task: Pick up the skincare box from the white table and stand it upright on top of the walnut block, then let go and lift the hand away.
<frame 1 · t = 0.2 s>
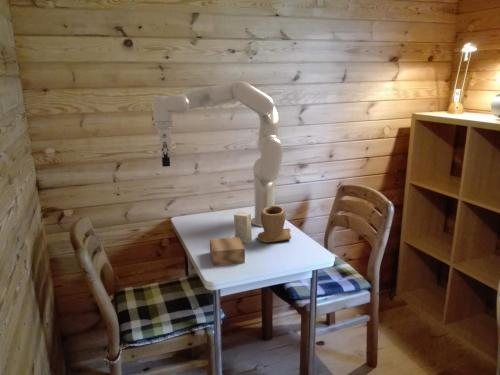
hand: (166, 164, 179), 31 cm above the table, fingers open, 9 cm apart
skincare box: (243, 241, 174), on the table
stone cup: (275, 240, 174), on the table
walnut block: (227, 258, 158), on the table
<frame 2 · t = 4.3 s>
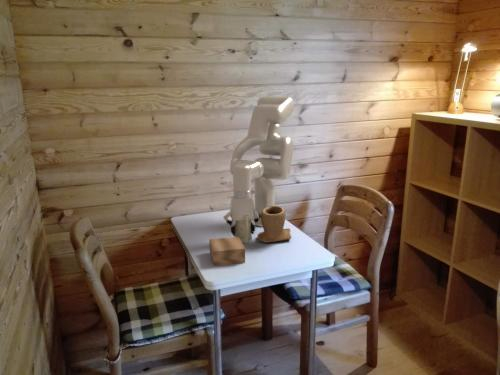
hand: (242, 233, 173), 3 cm above the table, fingers closed on skincare box, 7 cm apart
skincare box: (243, 241, 174), on the table, touching gripper
everything else where it was.
when the fingers open (11 cm above the table, at t = 10.6 s): skincare box drops 2 cm, resting on walnut block.
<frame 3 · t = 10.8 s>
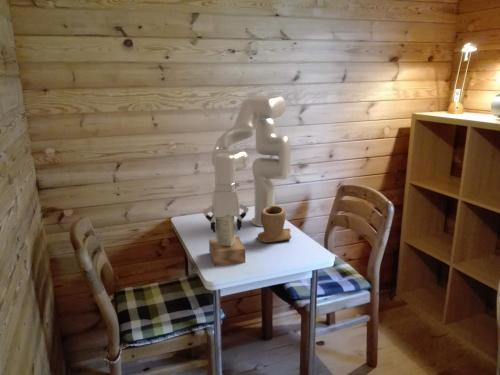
hand: (226, 230, 155), 11 cm above the table, fingers open, 9 cm apart
skincare box: (226, 244, 157), point 5 cm above the table, touching walnut block
walnut block: (227, 258, 158), on the table, touching skincare box
everything else where it was.
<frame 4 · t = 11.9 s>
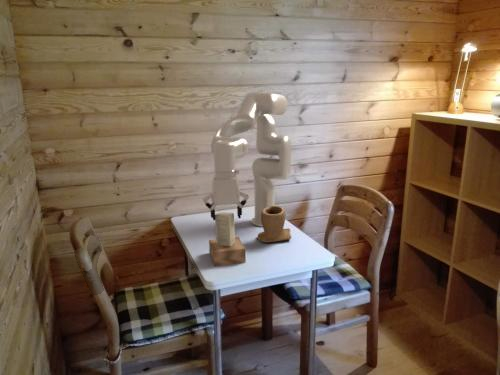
hand: (226, 218, 154), 16 cm above the table, fingers open, 9 cm apart
nothing on the table moved.
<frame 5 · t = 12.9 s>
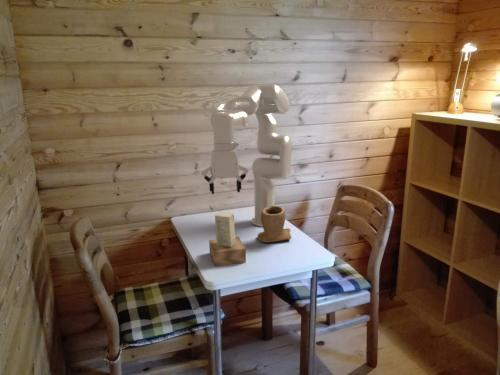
hand: (225, 192, 151), 26 cm above the table, fingers open, 9 cm apart
nothing on the table moved.
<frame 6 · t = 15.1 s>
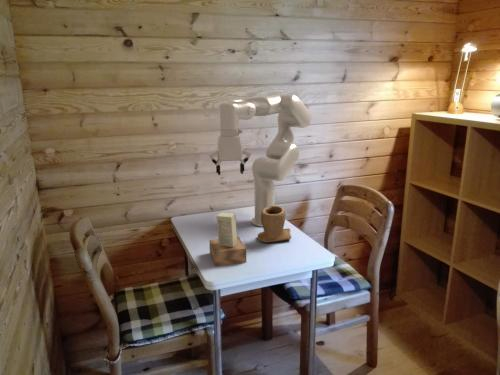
hand: (230, 173, 171), 28 cm above the table, fingers open, 9 cm apart
at the end: skincare box inside the target area on the walnut block (0.4 cm from its centre), point 5.9 cm above the walnut block's base; skincare box tilted 3°; the gripper is holding nothing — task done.
